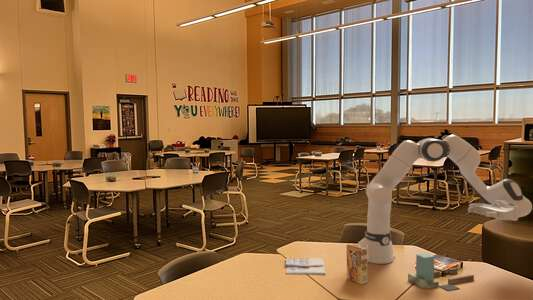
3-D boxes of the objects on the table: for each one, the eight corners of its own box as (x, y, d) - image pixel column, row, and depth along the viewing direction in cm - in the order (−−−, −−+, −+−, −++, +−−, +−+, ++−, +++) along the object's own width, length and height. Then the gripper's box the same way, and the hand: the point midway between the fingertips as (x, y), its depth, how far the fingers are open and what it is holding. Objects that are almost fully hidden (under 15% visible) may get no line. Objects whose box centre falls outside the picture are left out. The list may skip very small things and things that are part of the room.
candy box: (368, 282, 176) (367, 247, 175) (361, 285, 174) (360, 249, 173) (353, 276, 184) (352, 243, 183) (346, 278, 181) (346, 244, 180)
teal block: (416, 281, 177) (416, 254, 176) (425, 280, 178) (425, 253, 178) (424, 285, 172) (424, 257, 171) (433, 284, 174) (434, 256, 173)
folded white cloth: (323, 261, 206) (323, 257, 206) (325, 276, 186) (325, 272, 186) (285, 261, 208) (285, 256, 208) (283, 275, 188) (283, 271, 188)
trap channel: (400, 276, 183) (400, 269, 183) (447, 268, 192) (447, 262, 192) (433, 293, 164) (433, 286, 164) (483, 284, 173) (483, 277, 172)
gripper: (482, 199, 197) (459, 201, 192) (521, 207, 178) (497, 209, 173) (482, 212, 197) (459, 214, 193) (520, 221, 178) (496, 224, 174)
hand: (477, 212), depth 183 cm, fingers open, 8 cm apart
